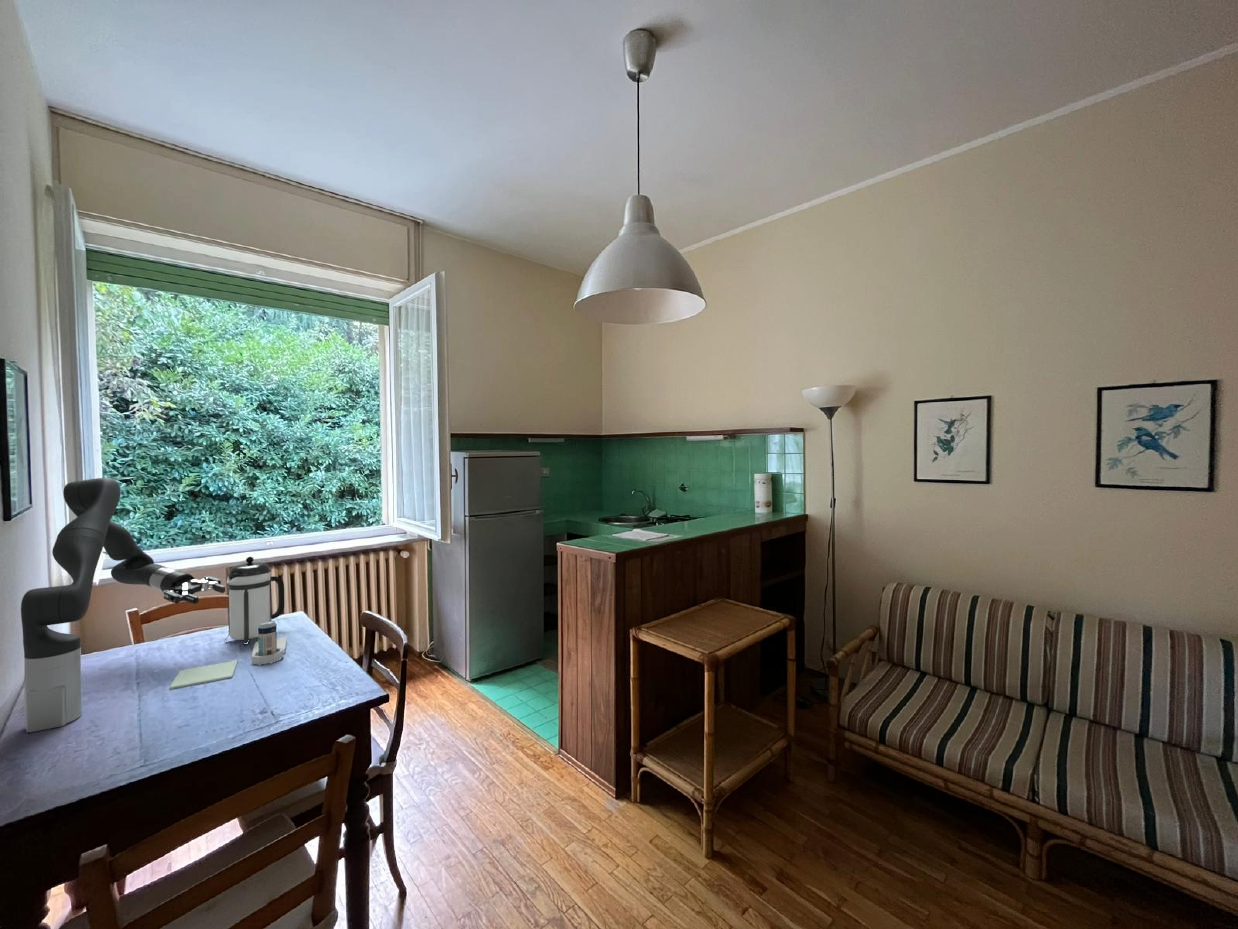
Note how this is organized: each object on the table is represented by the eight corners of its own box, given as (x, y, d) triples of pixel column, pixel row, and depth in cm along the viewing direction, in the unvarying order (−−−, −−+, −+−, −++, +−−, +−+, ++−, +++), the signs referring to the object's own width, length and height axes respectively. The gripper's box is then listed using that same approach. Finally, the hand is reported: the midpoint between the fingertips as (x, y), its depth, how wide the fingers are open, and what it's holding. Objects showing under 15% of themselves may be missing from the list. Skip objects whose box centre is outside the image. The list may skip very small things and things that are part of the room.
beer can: (280, 656, 163) (279, 620, 163) (270, 662, 158) (269, 625, 158) (265, 657, 163) (264, 620, 163) (255, 663, 158) (254, 625, 158)
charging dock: (283, 660, 160) (283, 653, 160) (249, 667, 155) (249, 659, 155) (286, 641, 178) (286, 634, 178) (255, 646, 173) (255, 639, 173)
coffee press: (272, 642, 177) (271, 558, 177) (217, 649, 171) (216, 562, 171) (285, 627, 193) (284, 550, 193) (235, 633, 187) (234, 554, 187)
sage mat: (232, 677, 147) (232, 675, 147) (169, 689, 140) (169, 687, 140) (237, 662, 159) (237, 660, 159) (180, 672, 151) (180, 670, 151)
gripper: (147, 579, 156) (188, 593, 153) (194, 563, 170) (233, 576, 167) (147, 600, 158) (187, 615, 155) (193, 583, 172) (232, 596, 169)
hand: (211, 595), depth 161 cm, fingers open, 8 cm apart
